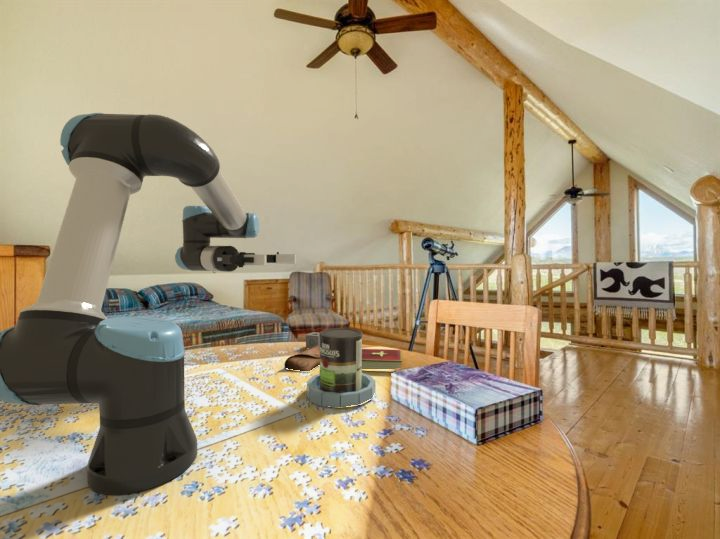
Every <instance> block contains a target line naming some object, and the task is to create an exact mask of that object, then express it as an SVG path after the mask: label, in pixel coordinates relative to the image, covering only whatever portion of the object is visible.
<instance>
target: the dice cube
mask: <svg viewBox="0 0 720 539" xmlns="http://www.w3.org/2000/svg"><path fill="white" fill-rule="evenodd" d="M319 333H320V332H315V331H312V332H310V333H307V334H306V335H305V349H306V348H309V349H311V348H313V347H316V346H317V345H319V346H320V336H319Z"/></svg>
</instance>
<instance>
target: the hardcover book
mask: <svg viewBox="0 0 720 539" xmlns="http://www.w3.org/2000/svg"><path fill="white" fill-rule="evenodd" d="M402 356H403V353H402V349H390V348H389V349H388V348H387V349H385V348H380V349H379V348H362V369H396V368H402V366H401V363H403V357H402Z"/></svg>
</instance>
